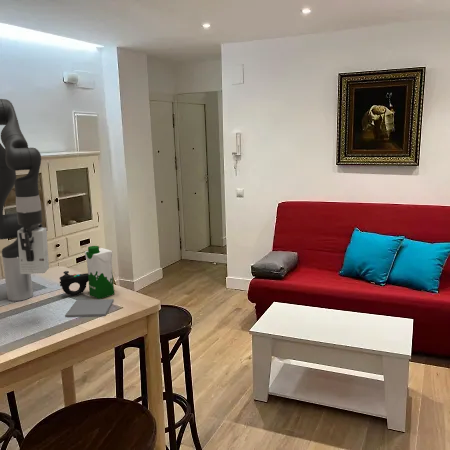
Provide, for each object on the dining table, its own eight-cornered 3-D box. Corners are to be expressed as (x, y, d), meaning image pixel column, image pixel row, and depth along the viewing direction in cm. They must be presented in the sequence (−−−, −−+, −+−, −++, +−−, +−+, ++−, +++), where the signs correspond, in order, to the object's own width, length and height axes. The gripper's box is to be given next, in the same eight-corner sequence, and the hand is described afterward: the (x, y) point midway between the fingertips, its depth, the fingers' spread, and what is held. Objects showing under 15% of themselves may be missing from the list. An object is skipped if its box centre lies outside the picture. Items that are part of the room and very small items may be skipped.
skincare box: (20, 274, 151) (15, 231, 148) (25, 269, 157) (20, 227, 153) (46, 273, 152) (41, 230, 149) (50, 267, 158) (46, 226, 154)
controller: (60, 295, 180) (58, 271, 178) (92, 290, 185) (90, 266, 183) (61, 298, 176) (59, 274, 174) (94, 293, 181) (92, 269, 179)
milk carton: (86, 295, 180) (81, 246, 175) (105, 289, 186) (102, 241, 182) (98, 300, 174) (94, 250, 169) (118, 294, 180) (114, 245, 176)
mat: (76, 301, 173) (76, 300, 173) (113, 300, 173) (113, 299, 173) (65, 317, 159) (65, 315, 159) (105, 316, 160) (105, 313, 159)
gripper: (26, 205, 157) (31, 252, 160) (7, 213, 142) (14, 264, 146) (48, 205, 157) (52, 251, 160) (32, 213, 143) (37, 264, 146)
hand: (34, 257), depth 153 cm, fingers closed on skincare box, 6 cm apart
